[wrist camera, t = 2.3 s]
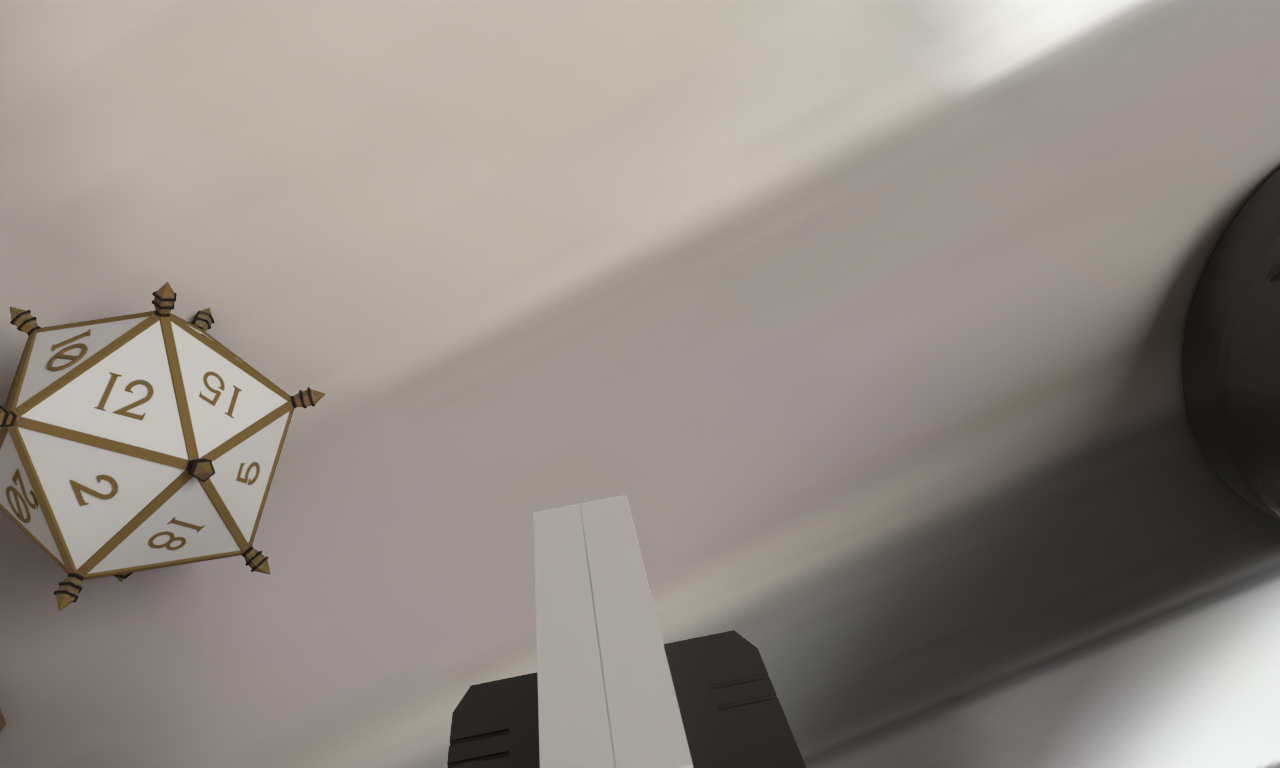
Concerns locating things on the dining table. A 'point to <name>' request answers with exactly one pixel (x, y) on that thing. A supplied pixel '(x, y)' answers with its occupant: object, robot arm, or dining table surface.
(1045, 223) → the dining table surface
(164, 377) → the game die
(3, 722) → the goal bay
